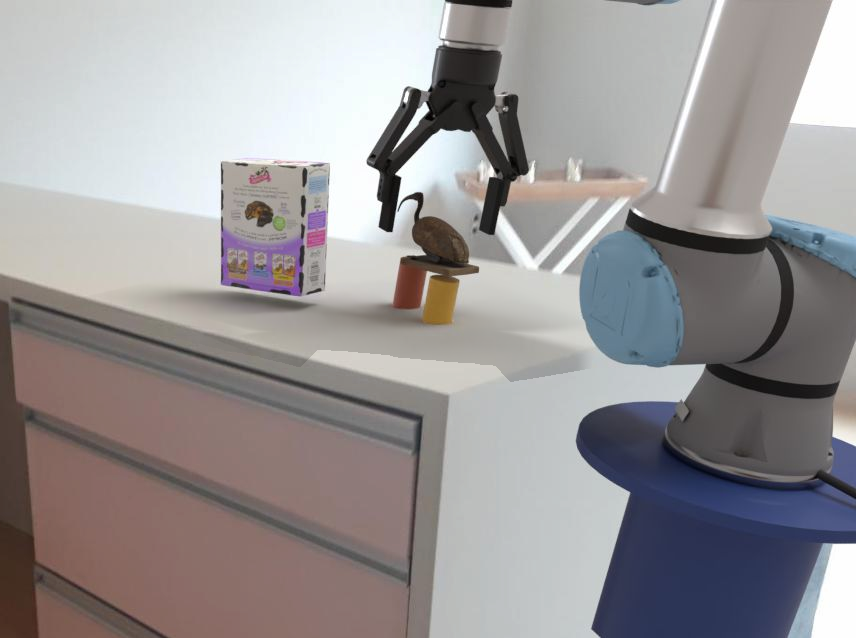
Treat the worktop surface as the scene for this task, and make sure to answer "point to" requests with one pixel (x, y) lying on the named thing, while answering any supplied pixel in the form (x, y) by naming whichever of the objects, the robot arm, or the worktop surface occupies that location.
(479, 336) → the worktop surface
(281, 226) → the snack box
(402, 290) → the red cylinder
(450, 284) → the yellow cylinder
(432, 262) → the ibis bird sculpture
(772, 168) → the robot arm
